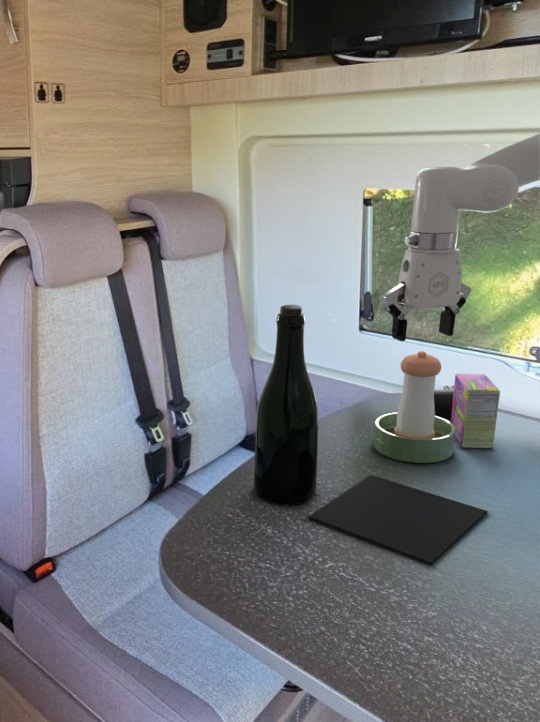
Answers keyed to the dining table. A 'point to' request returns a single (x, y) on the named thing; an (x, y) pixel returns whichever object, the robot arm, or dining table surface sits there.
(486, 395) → the box
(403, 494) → the mat
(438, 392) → the end cap
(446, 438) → the bowl
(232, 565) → the dining table surface
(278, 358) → the dark green wine bottle
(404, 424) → the pepper shaker
